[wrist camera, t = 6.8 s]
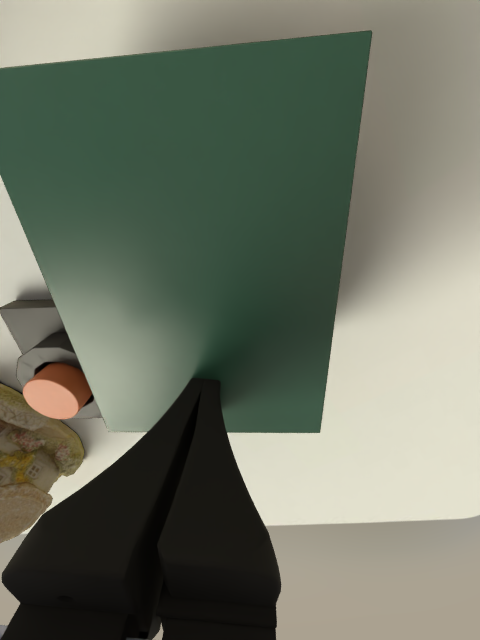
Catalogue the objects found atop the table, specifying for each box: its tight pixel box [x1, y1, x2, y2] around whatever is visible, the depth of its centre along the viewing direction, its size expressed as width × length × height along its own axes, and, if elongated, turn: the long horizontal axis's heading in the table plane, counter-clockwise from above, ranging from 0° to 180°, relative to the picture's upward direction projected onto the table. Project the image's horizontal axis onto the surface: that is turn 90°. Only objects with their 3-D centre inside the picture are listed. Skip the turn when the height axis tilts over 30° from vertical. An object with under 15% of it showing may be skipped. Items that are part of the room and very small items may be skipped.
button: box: [23, 362, 92, 419], centre depth 17 cm, size 4×4×2 cm
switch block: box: [0, 299, 103, 418], centre depth 19 cm, size 8×10×3 cm
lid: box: [0, 30, 372, 433], centre depth 10 cm, size 14×11×1 cm
